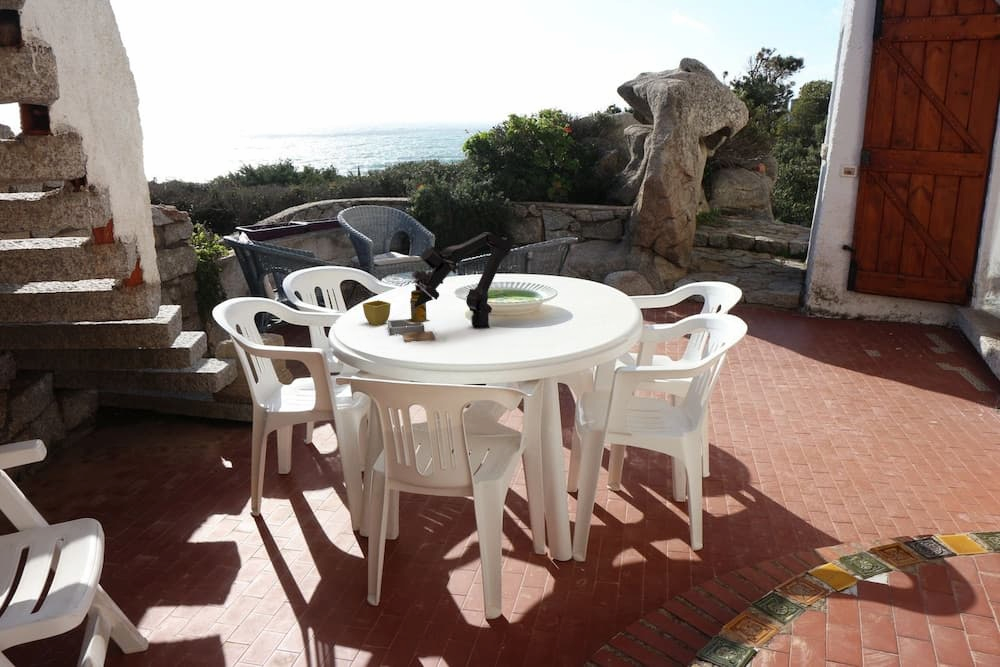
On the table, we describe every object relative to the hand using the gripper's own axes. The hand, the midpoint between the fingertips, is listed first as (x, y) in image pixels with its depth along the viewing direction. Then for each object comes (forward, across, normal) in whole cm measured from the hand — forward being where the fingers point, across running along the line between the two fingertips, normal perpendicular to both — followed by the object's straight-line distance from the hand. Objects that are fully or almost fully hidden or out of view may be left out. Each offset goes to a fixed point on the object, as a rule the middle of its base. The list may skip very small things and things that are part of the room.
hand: (412, 304), depth 288 cm
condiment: (+4, 0, +6) cm, 7 cm away
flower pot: (+16, -28, +3) cm, 32 cm away
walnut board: (+8, +1, +10) cm, 13 cm away
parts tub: (+10, -12, +9) cm, 18 cm away
